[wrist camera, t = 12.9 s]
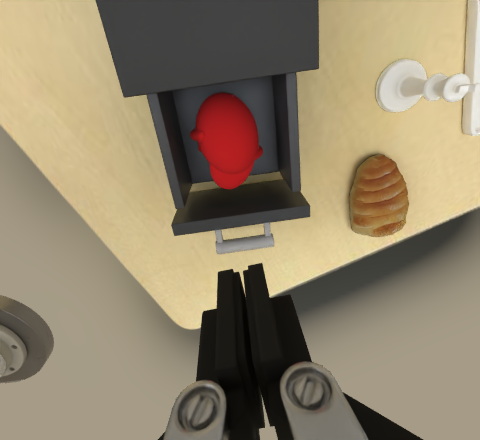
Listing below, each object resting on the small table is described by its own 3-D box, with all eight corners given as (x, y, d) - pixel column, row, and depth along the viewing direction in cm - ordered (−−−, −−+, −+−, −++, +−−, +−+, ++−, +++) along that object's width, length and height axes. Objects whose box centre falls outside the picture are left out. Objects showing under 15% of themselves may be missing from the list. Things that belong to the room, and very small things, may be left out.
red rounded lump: (182, 104, 27) (172, 109, 21) (242, 83, 26) (247, 83, 21) (211, 180, 30) (209, 201, 25) (264, 163, 30) (274, 181, 24)
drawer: (293, 221, 34) (311, 256, 27) (192, 235, 34) (184, 274, 27) (284, 52, 26) (306, 41, 19) (153, 72, 26) (128, 68, 19)
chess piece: (418, 109, 30) (501, 120, 21) (372, 114, 30) (436, 128, 21) (427, 56, 28) (524, 43, 19) (377, 62, 28) (451, 52, 19)
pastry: (340, 162, 32) (354, 171, 29) (399, 145, 32) (421, 153, 28) (348, 231, 36) (362, 246, 33) (400, 217, 36) (419, 231, 32)
